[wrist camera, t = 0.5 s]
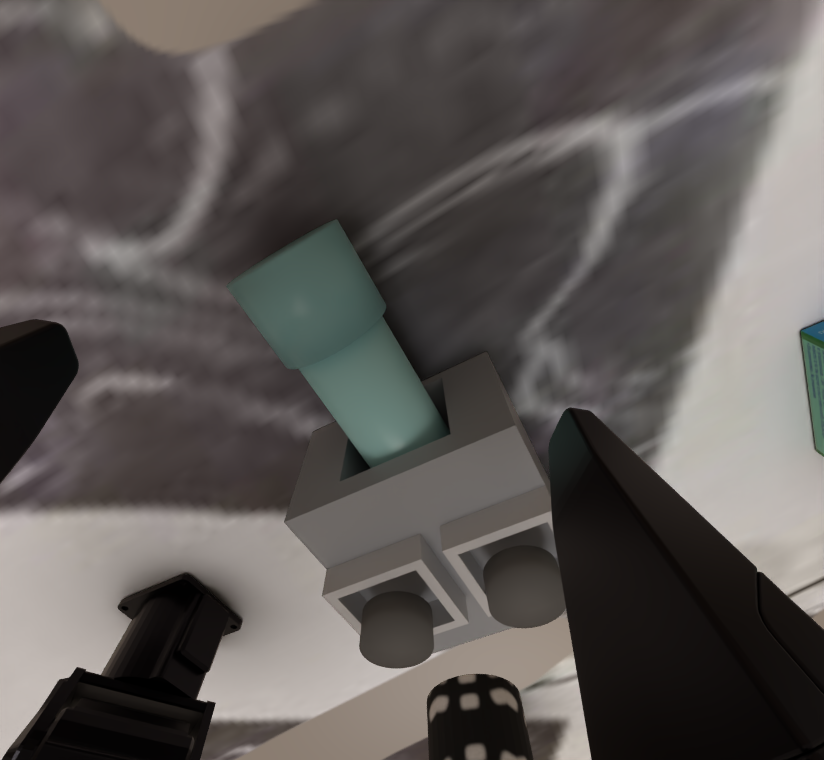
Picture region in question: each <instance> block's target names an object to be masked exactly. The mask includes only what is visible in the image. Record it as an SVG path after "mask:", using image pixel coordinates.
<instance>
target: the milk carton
mask: <svg viewBox="0 0 824 760" xmlns="http://www.w3.org/2000/svg"><path fill="white" fill-rule="evenodd" d="M801 337H802V345H803V353H804V360H805V368H806V376H807V383H808V391H809V399H810V407H811V414H812V422H813V430H814V437H815V445H816V451H817V452H818V453H819V454H821V455H822V456H823V457H824V321H823V322H820V323H818V324H816V325H813V326H811V327H809V328H806V329H804V330H801Z"/></svg>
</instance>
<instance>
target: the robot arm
mask: <svg viewBox="0 0 824 760" xmlns="http://www.w3.org/2000/svg"><path fill="white" fill-rule="evenodd" d="M78 367H79V363H78V359H77V356H76V354H75V351H74V348H73V346H72V343H71V340H70V338H69V335H68V333H67V330H66V329H65V328H64V327H63V325H61V324H59V323H57V322H51V321H45V320H38V319H33V320H28V321H24V322H20V323H16V324H12V325H8V326H4V327H1V328H0V484H1V482H2V481H3V480H4V479H5V477H6V476H7V475H8V474H9V472H10V471H11V470H12V469H13V467H14V466H15V465H16V464H17V462H18V461H19V460H20V459H21V457H22V456H23V455H24V454H25V452H26V451H27V450H28V448H29V447H30V446H31V444H32V443H33V441H34V440H35V439H36V437H37V436H38V434H39V433H40V431H41V429H42V428H43V426H44V425H45V423H46V422H47V420H48V419H49V417H50V415H51V414H52V412H53V411H54V409H55V408H56V406H57V404H58V403H59V401H60V400H61V398H62V397H63V395H64V393H65V392H66V390H67V389H68V387H69V386H70V384H71V382H72V381H73V379H74V378H75V376H76V374H77V372H78ZM549 472H550V493H551V513H552V526H553V533H554V540H555V546H556V552H557V558H558V563H559V569H560V575H561V581H562V587H563V593H564V599H565V605H566V611H567V617H568V622H569V628H570V634H571V640H572V646H573V652H574V658H575V664H576V670H577V676H578V682H579V688H580V693H581V699H582V705H583V711H584V717H585V723H586V729H587V735H588V741H589V747H590V753H591V759H592V760H824V629H822V627H820V626H819V625H818V624H817V623H816V622H815V621H814V620H813V619H812V618H811V617H810V616H808V615H807V614H806V613H805V612H804V611H803V610H802V609H801V608H800V607H799V606H797V605H796V604H795V603H794V602H793V601H792V600H791V599H790V598H789V597H788V596H787V595H785V594H784V593H783V592H782V591H781V590H780V589H779V588H778V587H777V586H776V585H775V584H774V583H773V582H772V581H771V580H770V579H769V578H768V577H766V576H765V575H764V574H763V573H762V572H757V568H756V566H755V565H754V564H752V563H751V562H750V561H749V560H748V559H747V558H746V557H745V556H744V555H743V554H742V553H741V552H740V551H739V550H738V549H737V548H735V547H734V546H733V545H732V544H731V543H730V542H729V541H728V540H727V539H726V538H725V537H724V536H723V535H722V534H721V533H720V532H718V531H717V530H716V529H715V528H714V527H713V526H712V525H711V524H710V523H709V522H708V521H707V520H706V519H705V518H704V517H703V516H701V515H700V514H699V513H698V512H697V511H696V510H695V509H694V508H693V507H692V506H691V505H690V504H689V503H688V502H687V501H686V500H685V499H683V498H682V497H681V496H680V495H679V494H678V493H677V492H676V491H675V490H674V489H673V488H672V487H671V486H670V485H669V484H668V483H666V482H665V481H664V480H663V479H662V478H661V477H660V476H659V475H658V474H657V473H656V472H655V471H654V470H653V469H652V468H651V467H649V466H648V465H647V464H646V463H645V462H644V461H643V460H642V459H641V458H640V457H639V456H638V455H637V454H636V453H635V452H634V451H632V450H631V449H630V448H629V447H628V446H627V445H626V444H625V443H624V442H623V441H622V440H621V439H620V438H619V437H618V436H617V435H615V434H614V433H613V432H612V431H611V430H610V429H609V428H608V427H607V426H606V425H605V424H604V423H603V422H602V421H601V420H600V419H598V418H597V417H596V416H595V415H594V414H593V413H592V412H590V411H588V410H583V409H577V408H568V409H566V410H565V411H564V412H563V414H562V416H561V418H560V420H559V422H558V424H557V427H556V429H555V431H554V433H553V435H552V437H551V439H550V443H549ZM118 609H119V610H120V611H121V612H122V613H124V614H125V615H126V616H128V617H129V618H130V619H132V621H131V623H130V625H129V626H128V628H127V630H126V632H125V633H124V635H123V637H122V639H121V640H120V642H119V644H118V646H117V647H116V649H115V651H114V653H113V654H112V656H111V658H110V660H109V661H108V663H107V665H106V667H105V668H104V670H103V672H102V674H101V675H99V674H95V673H91V672H87V671H86V669H83V668H79V667H77V668H76V669H75V671H74V672H73V674H72V675H71V676H70V677H69V678H65V679H60V680H59V681H58V682H57V684H56V685H55V687H54V689H53V690H52V692H51V693H50V695H49V696H48V698H47V699H46V701H45V702H44V704H43V705H42V707H41V708H40V710H39V711H38V712H37V714H36V715H35V716H34V718H33V719H32V720H31V721H30V723H29V724H28V725H27V726H26V728H25V729H24V730H23V731H22V733H21V734H20V735H19V737H18V738H17V739H16V740H15V742H14V743H13V744H12V745H11V747H10V748H9V749H8V751H7V752H6V754H5V755H4V757H3V759H2V760H200V758H201V754H202V750H203V747H204V743H205V740H206V736H207V732H208V729H209V725H210V722H211V718H212V715H213V711H214V707H215V704H216V703H214V702H211V701H207V702H204V701H200V700H196V699H197V696H198V694H199V691H200V688H201V686H202V683H203V680H204V678H205V675H206V673H207V672H209V670H210V668H211V665H212V663H213V660H214V657H215V655H216V652H217V649H218V647H219V644H220V641H221V638H222V636H225V635H227V634H230V633H233V632H235V631H238V630H240V628H241V625H242V621H241V620H240V619H239V618H238V617H237V616H236V615H235V614H234V613H232V612H231V611H230V610H229V609H228V608H227V607H226V606H225V605H223V604H222V603H221V602H220V601H219V600H218V599H217V598H215V597H214V596H213V595H212V594H211V593H210V592H209V591H207V590H206V589H205V588H204V587H203V586H202V585H201V584H200V583H198V582H197V581H196V580H195V579H194V578H193V577H191V576H190V575H185V574H184V575H181V576H178V577H176V578H173V579H171V580H169V581H166V582H164V583H161V584H159V585H156V586H154V587H152V588H149V589H147V590H144V591H142V592H140V593H137V594H135V595H132V596H130V597H128V598H125V599H123V600H121V602H120V603H119V605H118Z"/></svg>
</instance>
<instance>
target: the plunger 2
mask: <svg viewBox="0 0 824 760" xmlns="http://www.w3.org/2000/svg"><path fill="white" fill-rule="evenodd" d="M483 579H484V584H485V590H486V596H487V601H488V607H489V611H490V613H491V615H492V617H493V618H494V619H495V620H497V621H498V622H500V623H501V624H503V625H506V626H509V627H514V628H532V627H537V626H541V625H544V624H547V623H549V622H551V621H553V620H555V619H556V618H558V617H559V616H560V615H561V614H562V613H563V612H564V611H565V609H566V605H565V599H564V593H563V587H562V581H561V575H560V569H559V567H558V564H557V561H556V559H555V558H554V556H553V555H552V554H551V553H550V552H548V551H547V550H545V549H543V548H540V547H536V546H530V545H520V546H514V547H510V548H506V549H504V550H502V551H500V552H498V553H496V554H495V555H493V556H492V557H491V558H490V559H489V560H488V561H487V563H486V564H485V567H484V570H483Z"/></svg>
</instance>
